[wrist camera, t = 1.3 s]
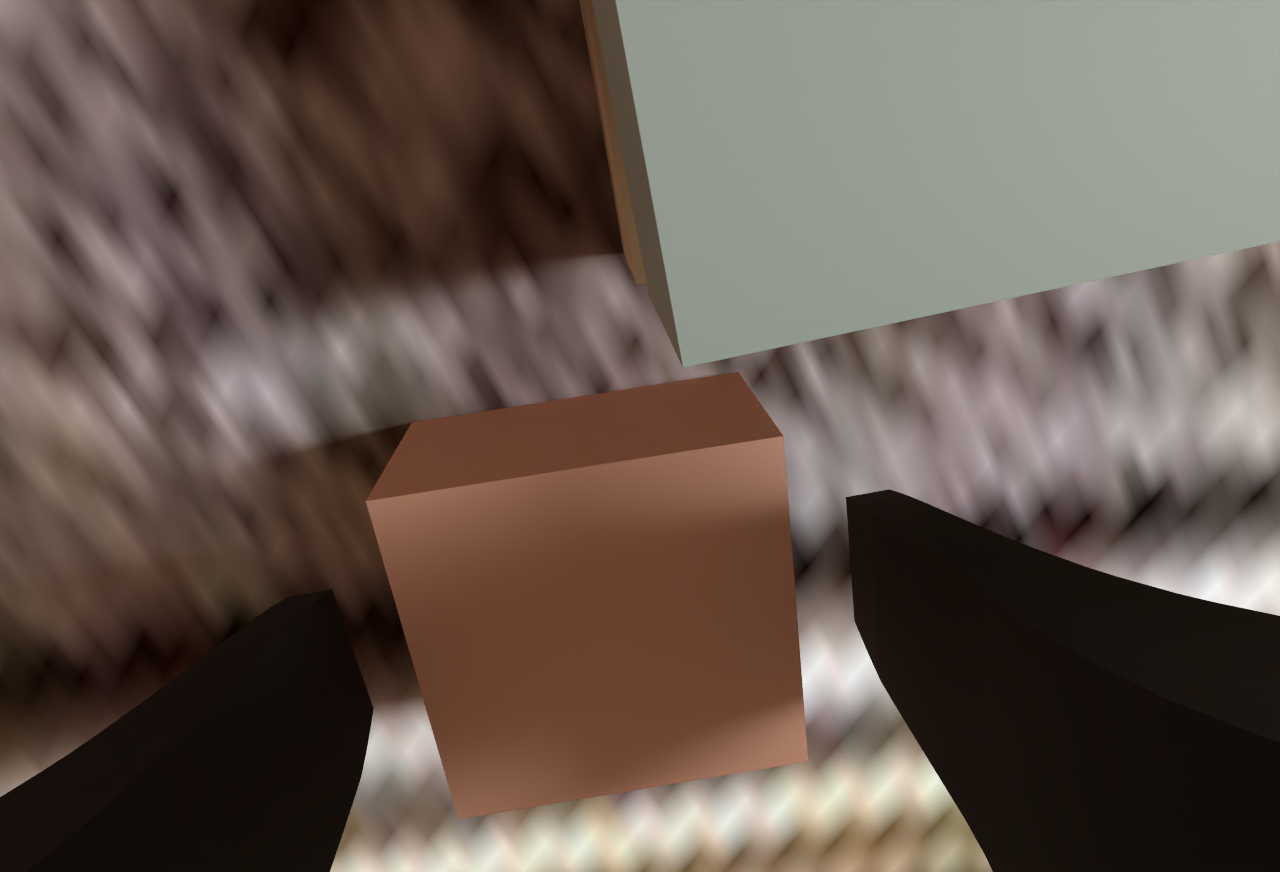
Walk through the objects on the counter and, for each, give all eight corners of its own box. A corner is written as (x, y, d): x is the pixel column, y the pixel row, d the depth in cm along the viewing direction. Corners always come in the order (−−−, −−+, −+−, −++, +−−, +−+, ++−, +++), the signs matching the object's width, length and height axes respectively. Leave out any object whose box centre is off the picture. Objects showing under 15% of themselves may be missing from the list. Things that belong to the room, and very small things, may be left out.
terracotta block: (761, 636, 14) (808, 761, 11) (482, 681, 14) (458, 819, 11) (735, 368, 12) (783, 436, 9) (415, 417, 12) (365, 500, 9)
